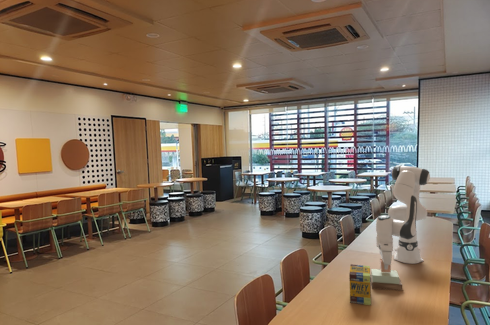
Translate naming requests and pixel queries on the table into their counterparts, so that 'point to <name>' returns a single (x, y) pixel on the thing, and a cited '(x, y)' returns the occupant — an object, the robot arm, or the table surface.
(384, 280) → the tower top
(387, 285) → the tower base
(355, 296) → the protein box
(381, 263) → the block
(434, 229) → the table surface
